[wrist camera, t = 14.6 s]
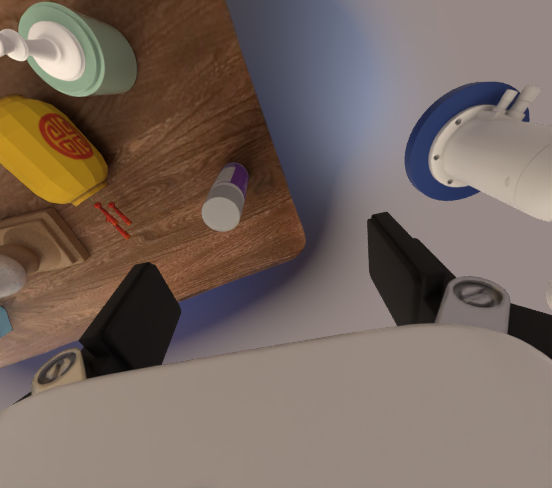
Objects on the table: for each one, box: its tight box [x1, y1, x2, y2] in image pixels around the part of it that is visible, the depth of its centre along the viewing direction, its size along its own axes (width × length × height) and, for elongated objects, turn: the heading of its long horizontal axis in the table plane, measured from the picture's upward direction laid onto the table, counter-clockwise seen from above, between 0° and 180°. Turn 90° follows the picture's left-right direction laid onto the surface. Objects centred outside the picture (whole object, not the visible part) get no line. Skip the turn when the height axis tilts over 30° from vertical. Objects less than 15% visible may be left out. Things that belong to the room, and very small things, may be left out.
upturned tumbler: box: [18, 2, 137, 97], centre depth 30 cm, size 8×8×9 cm
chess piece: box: [0, 21, 86, 81], centre depth 22 cm, size 5×5×10 cm
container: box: [202, 162, 249, 231], centre depth 36 cm, size 5×5×15 cm
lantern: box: [0, 94, 132, 239], centre depth 35 cm, size 10×10×30 cm
